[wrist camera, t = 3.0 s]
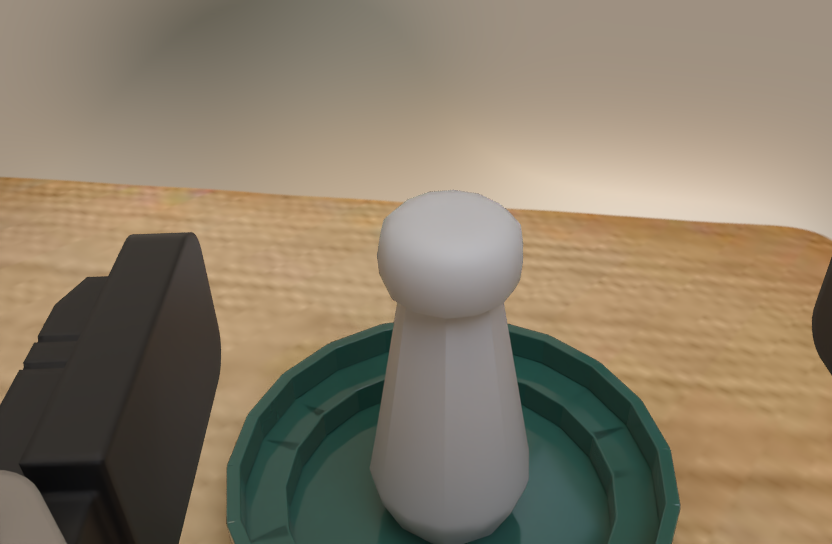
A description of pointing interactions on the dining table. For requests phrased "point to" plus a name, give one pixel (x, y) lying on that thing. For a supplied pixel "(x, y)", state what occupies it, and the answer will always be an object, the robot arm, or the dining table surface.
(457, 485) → the salt shaker
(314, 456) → the teal round dish
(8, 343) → the dining table surface
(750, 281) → the dining table surface
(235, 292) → the dining table surface
